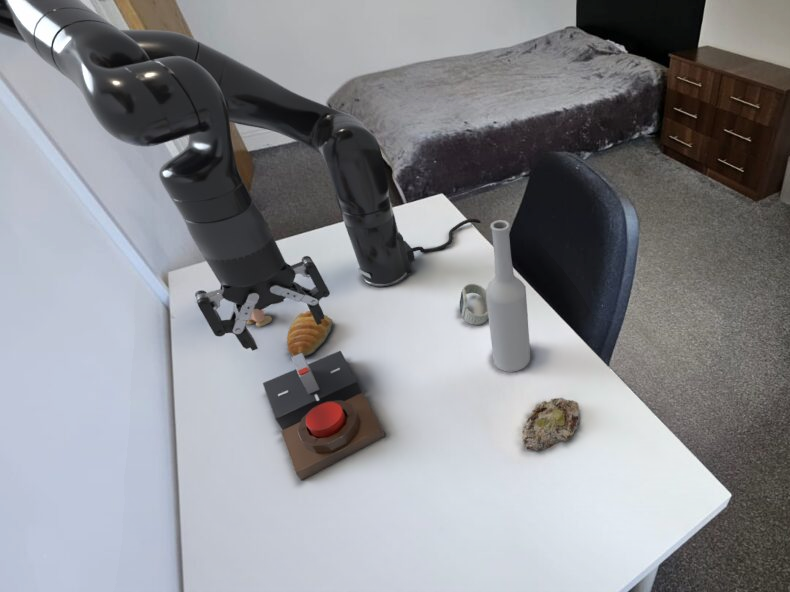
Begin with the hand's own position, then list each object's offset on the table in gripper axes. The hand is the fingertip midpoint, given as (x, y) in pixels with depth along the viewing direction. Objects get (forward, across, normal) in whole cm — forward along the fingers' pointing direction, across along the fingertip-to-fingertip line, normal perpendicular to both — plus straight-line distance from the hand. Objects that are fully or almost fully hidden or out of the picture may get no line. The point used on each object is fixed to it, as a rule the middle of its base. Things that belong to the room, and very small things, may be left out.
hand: (287, 333), depth 68 cm
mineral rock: (+15, +26, -28) cm, 41 cm away
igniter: (+14, -1, -10) cm, 17 cm away
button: (+10, -1, -10) cm, 14 cm away
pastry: (+14, +3, +14) cm, 20 cm away
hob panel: (+14, 0, 0) cm, 14 cm away
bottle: (+15, +29, -12) cm, 35 cm away
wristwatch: (+15, +30, +3) cm, 34 cm away
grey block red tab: (+11, 0, 0) cm, 11 cm away
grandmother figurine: (+14, -4, +25) cm, 29 cm away
